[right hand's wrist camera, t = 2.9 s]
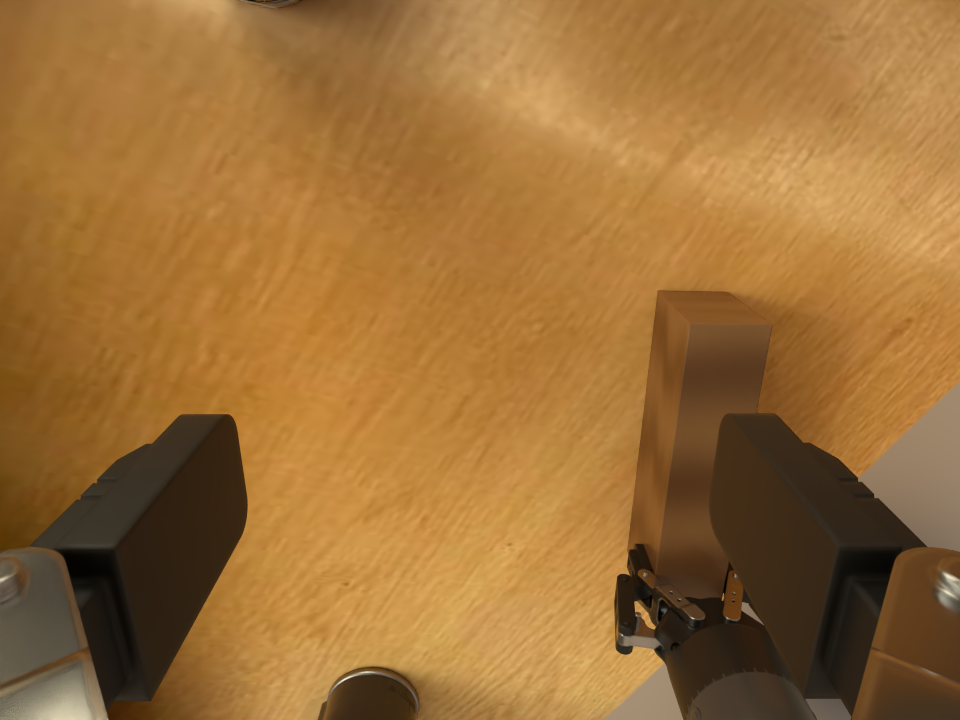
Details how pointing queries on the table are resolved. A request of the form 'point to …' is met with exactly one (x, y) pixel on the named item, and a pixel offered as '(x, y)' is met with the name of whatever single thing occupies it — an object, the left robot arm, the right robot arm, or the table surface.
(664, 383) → the bar
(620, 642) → the left robot arm
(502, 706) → the table surface
